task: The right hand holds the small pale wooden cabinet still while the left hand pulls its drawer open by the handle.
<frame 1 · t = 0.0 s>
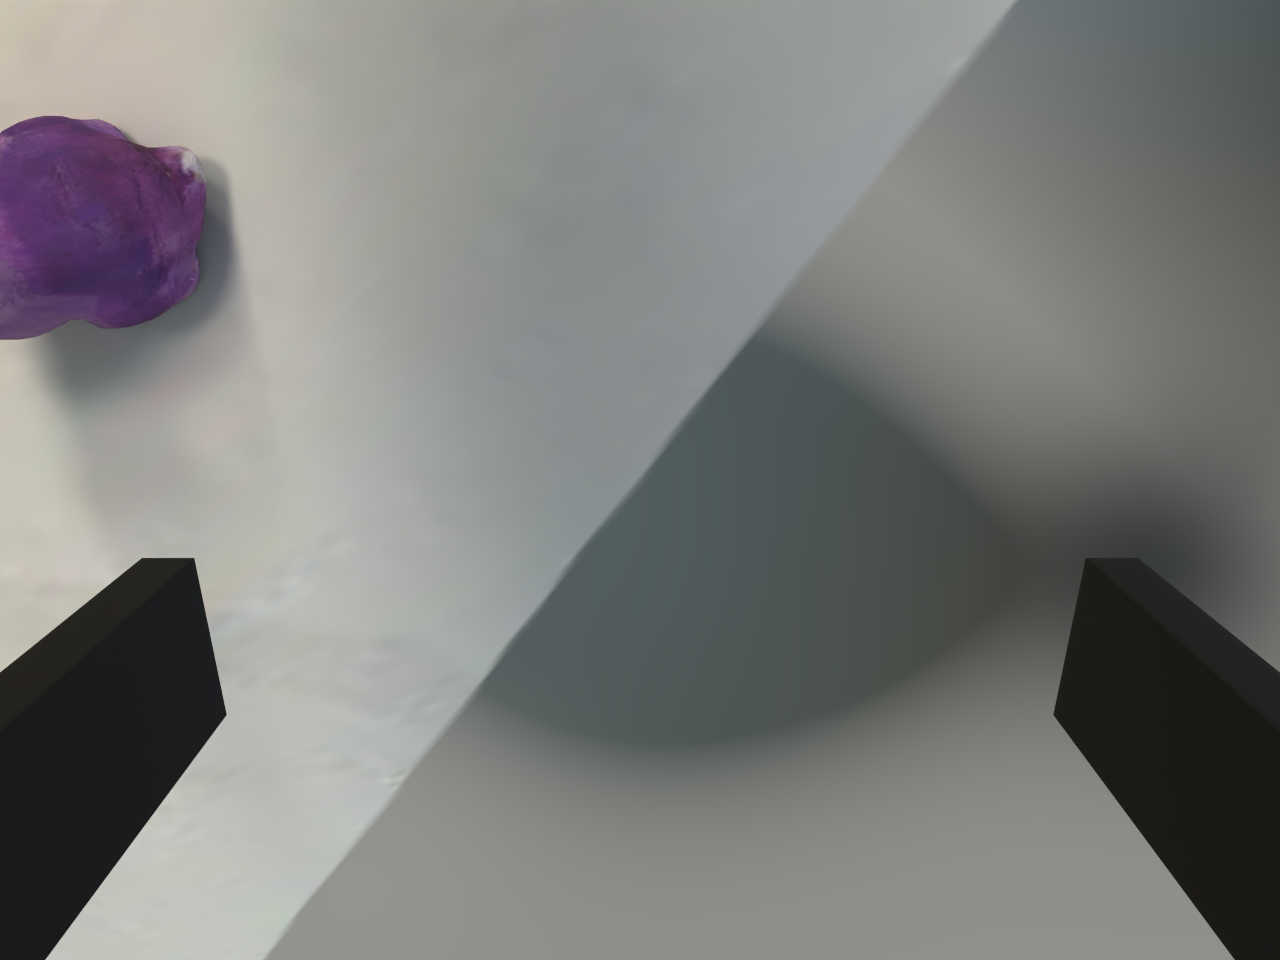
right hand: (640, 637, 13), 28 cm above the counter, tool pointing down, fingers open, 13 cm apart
figurine: (115, 242, 38), on the counter
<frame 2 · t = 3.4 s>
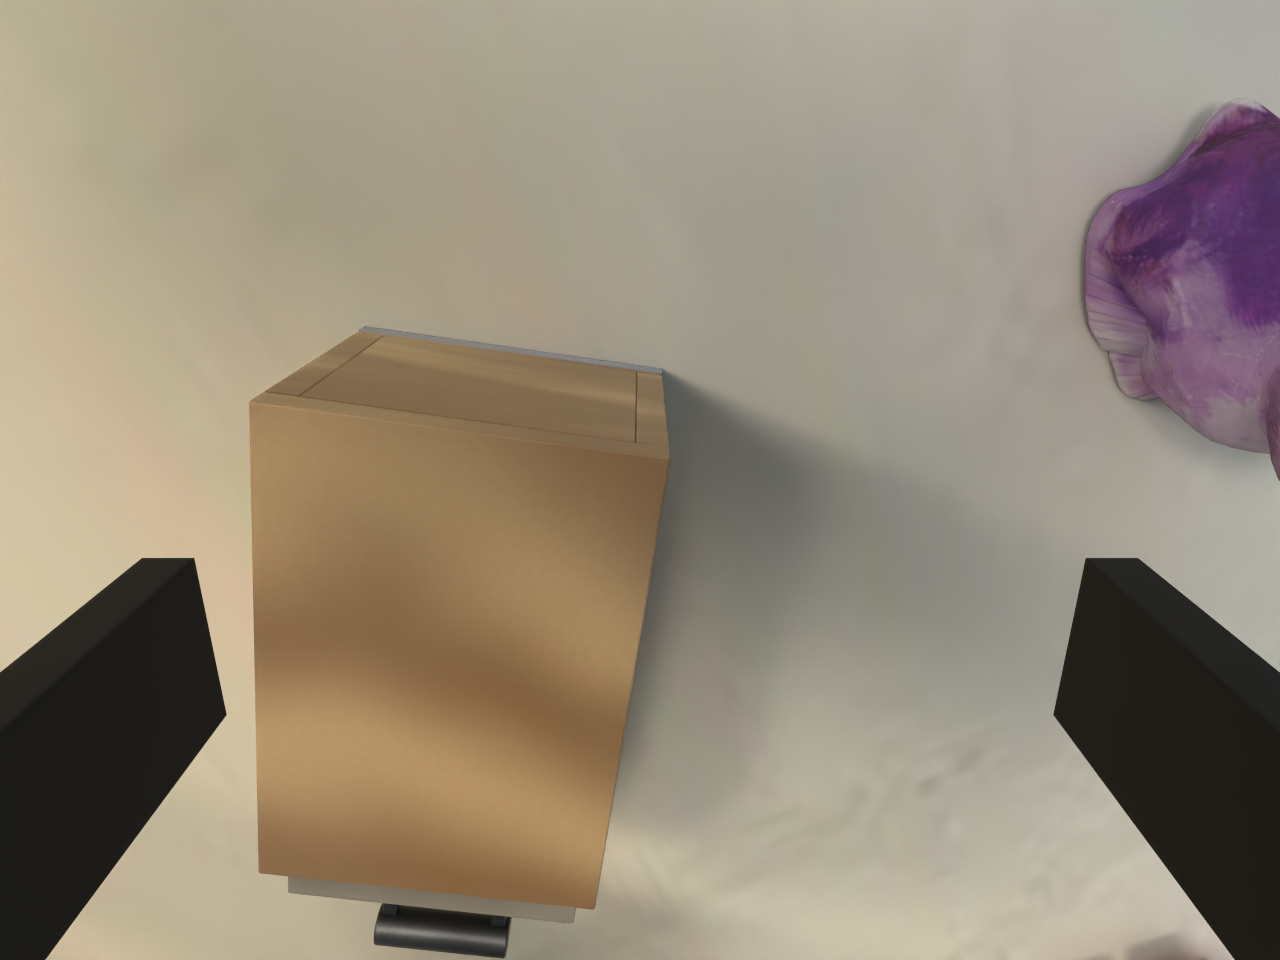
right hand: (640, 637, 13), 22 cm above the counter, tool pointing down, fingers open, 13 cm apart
drawer: (463, 727, 33), point 5 cm above the counter, slide at 0.7 cm
cabinet: (496, 542, 36), on the counter
figurine: (1187, 283, 32), on the counter
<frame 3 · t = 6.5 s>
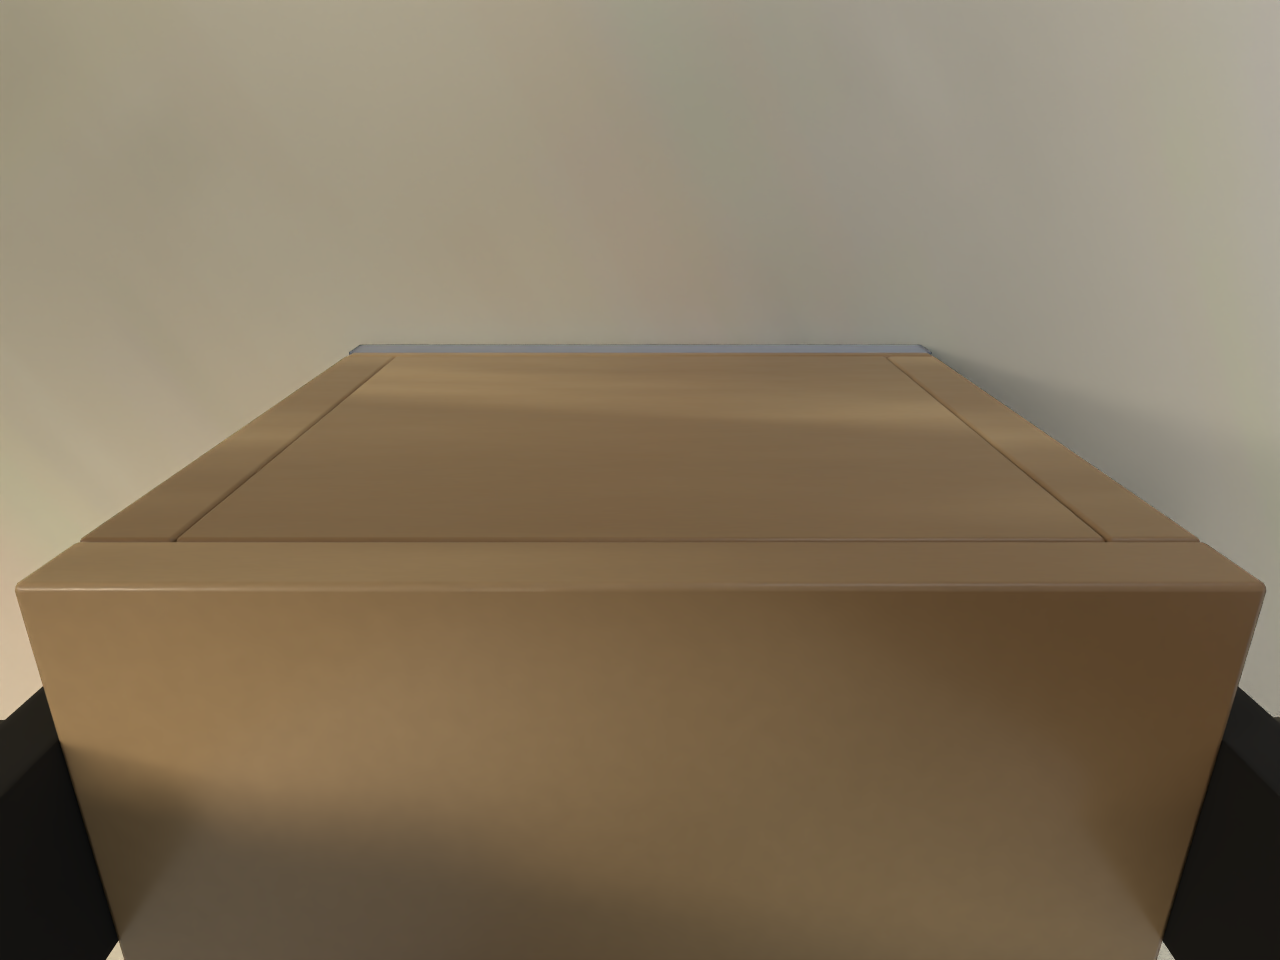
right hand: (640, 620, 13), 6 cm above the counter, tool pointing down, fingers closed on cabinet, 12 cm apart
cabinet: (640, 690, 21), on the counter, touching right hand
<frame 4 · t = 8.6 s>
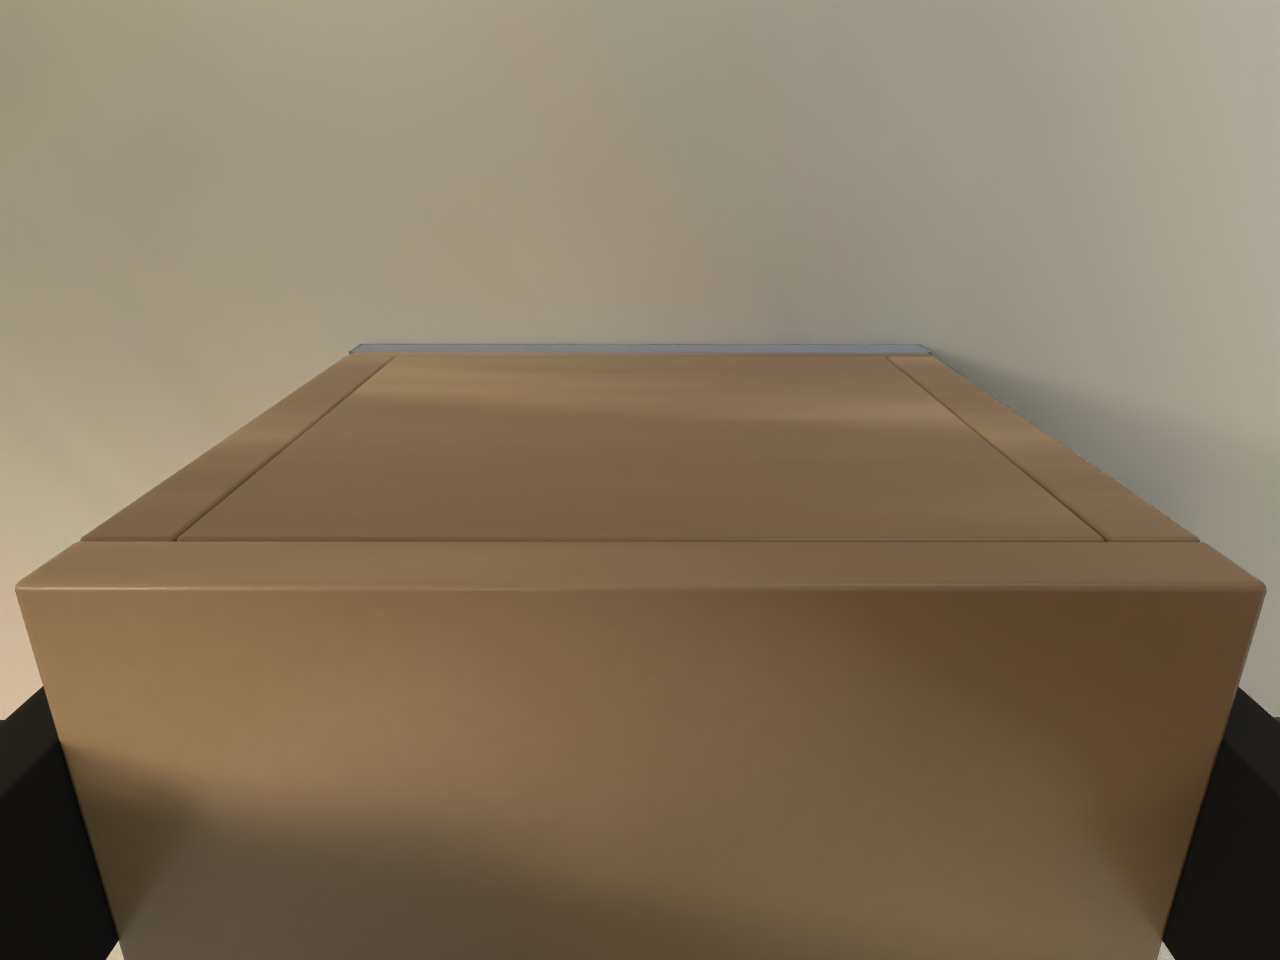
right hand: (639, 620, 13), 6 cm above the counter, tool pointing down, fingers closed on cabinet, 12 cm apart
cabinet: (640, 689, 21), on the counter, touching right hand
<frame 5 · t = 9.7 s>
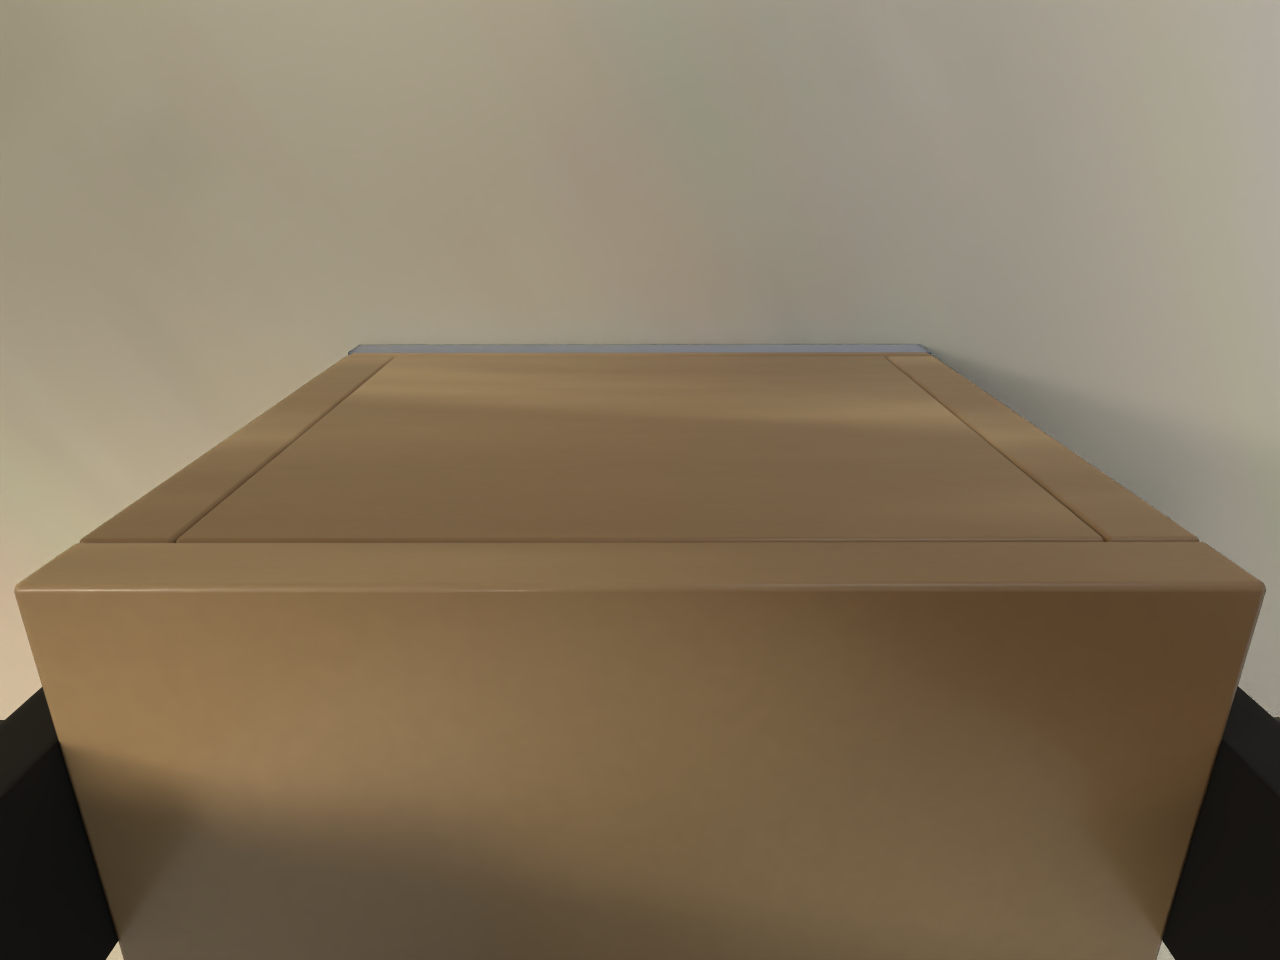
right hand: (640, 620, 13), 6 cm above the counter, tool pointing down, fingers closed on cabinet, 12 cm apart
cabinet: (639, 690, 21), on the counter, touching right hand
when the right hand's fingers open (6 cm above the counter, at t = 11.5 s): cabinet stays where it is, on the counter.
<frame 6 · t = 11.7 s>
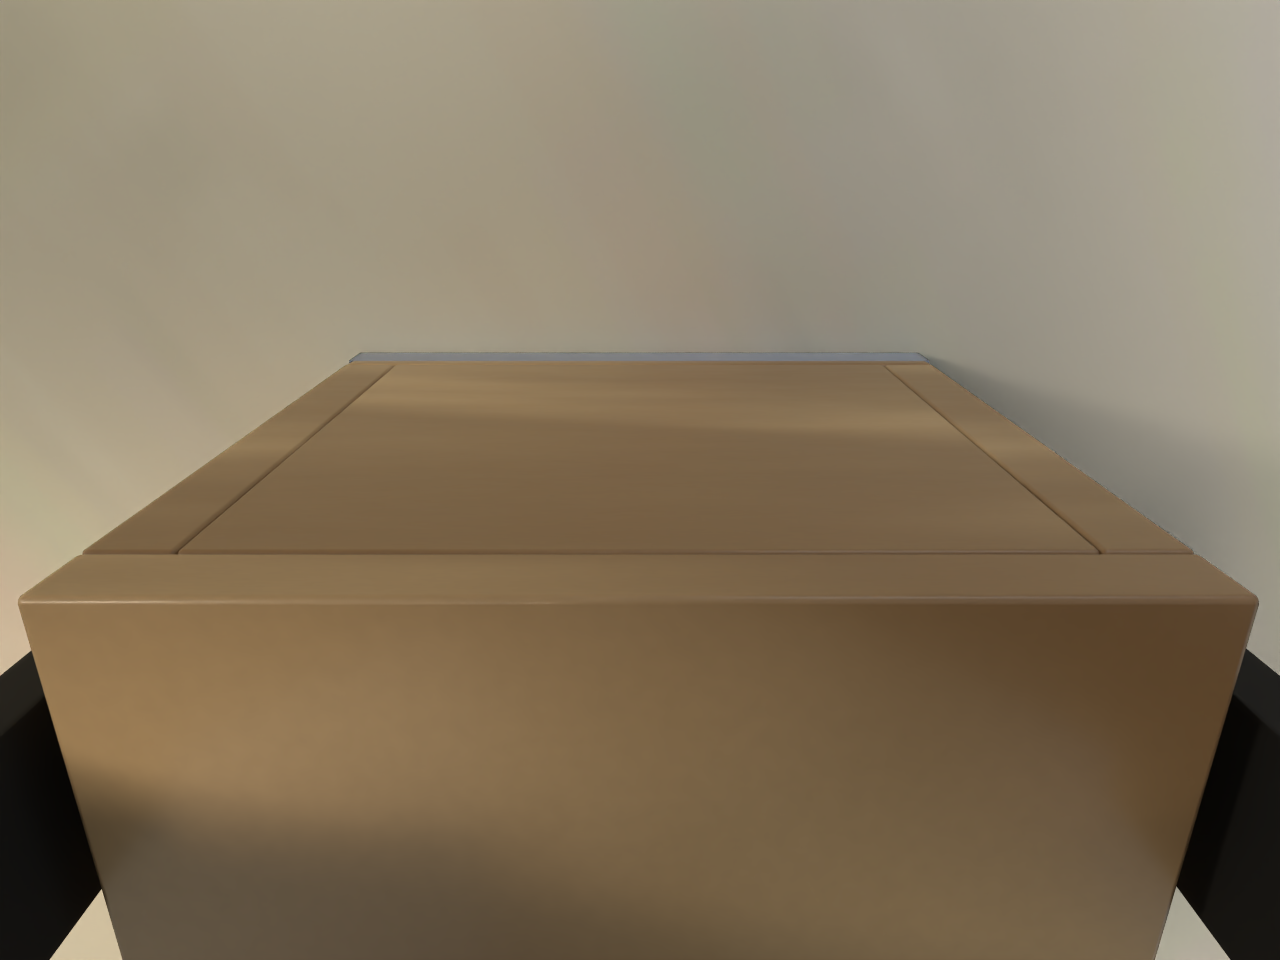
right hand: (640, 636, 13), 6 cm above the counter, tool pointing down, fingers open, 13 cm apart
cabinet: (639, 696, 21), on the counter
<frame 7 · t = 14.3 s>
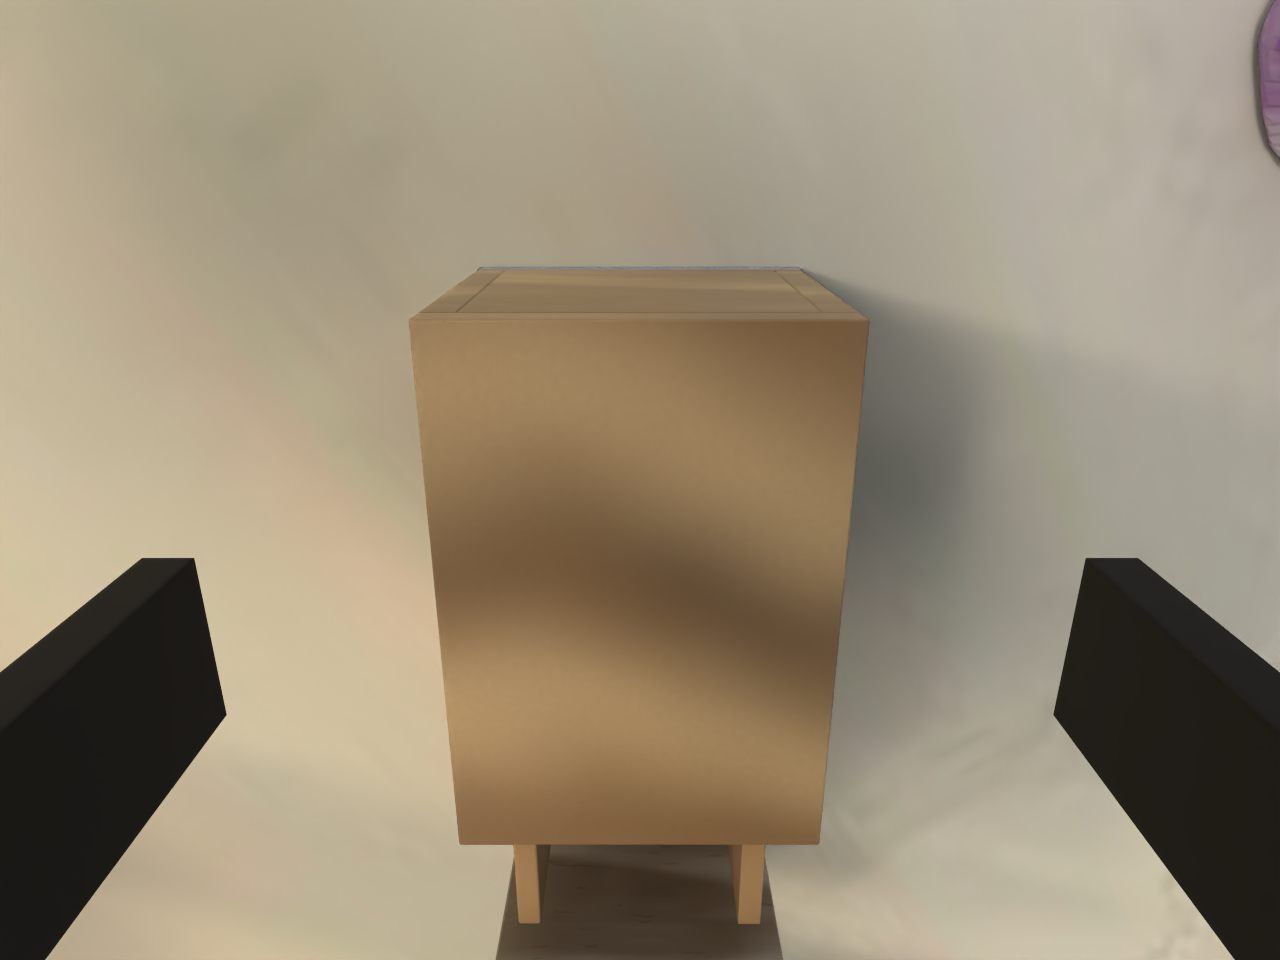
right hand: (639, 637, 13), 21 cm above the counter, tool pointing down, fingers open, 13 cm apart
drawer: (639, 798, 33), point 5 cm above the counter, slide at 6.3 cm
cabinet: (639, 482, 34), on the counter
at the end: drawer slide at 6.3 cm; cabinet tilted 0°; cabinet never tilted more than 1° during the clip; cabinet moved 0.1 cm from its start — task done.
